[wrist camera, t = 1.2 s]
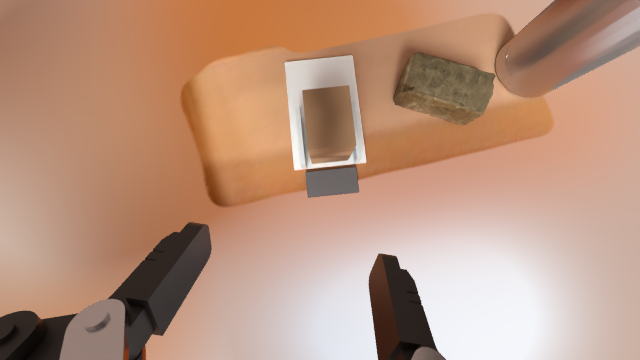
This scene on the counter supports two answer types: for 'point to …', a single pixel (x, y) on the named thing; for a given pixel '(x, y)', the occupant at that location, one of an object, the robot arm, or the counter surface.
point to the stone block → (444, 88)
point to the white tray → (299, 79)
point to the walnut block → (329, 124)
